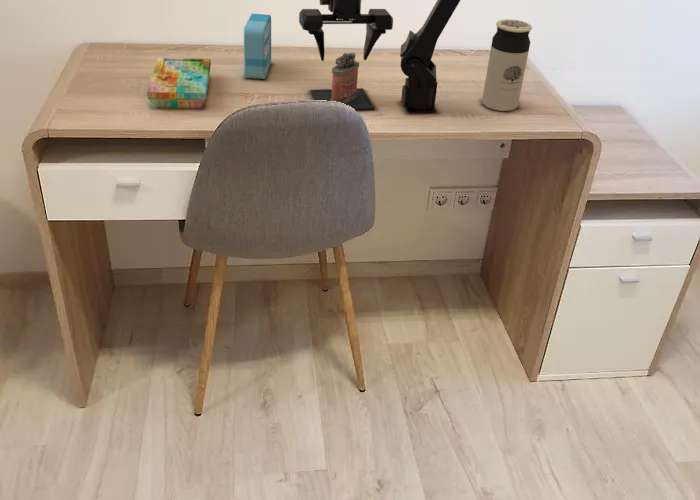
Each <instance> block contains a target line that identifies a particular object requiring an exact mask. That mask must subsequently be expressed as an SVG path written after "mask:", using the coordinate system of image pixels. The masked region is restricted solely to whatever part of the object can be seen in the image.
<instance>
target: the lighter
mask: <svg viewBox="0 0 700 500" xmlns="http://www.w3.org/2000/svg"><path fill="white" fill-rule="evenodd" d="M355 59H356V53H355V52H349V53H348V52H344V53H343V54H342V55H341V56H339V57H337V58H336V59H335V66H334V67H332V68H331V74H332V77H331V78H332V81H331V89H332V97H331V100H330V101H336V102H341V103H344V104H345V103H347V102H349V101H351V100H353V99H354V98H356V97H357V88H358V75H359V67H360V62H359V61H357V60H355Z"/></svg>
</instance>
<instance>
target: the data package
mask: <svg viewBox="0 0 700 500" xmlns="http://www.w3.org/2000/svg"><path fill="white" fill-rule="evenodd" d="M243 58H244V62H243V63H244V67H243V68H244V77H245V78H246V79H256V80H257V79H258V80H265V79H266V77H267V75H268V72H269V70H270V67H271V65H272V16H271V14H262V13H261V14H260V13H251V14H250V15H249V17H248V19H247V21H246V23H245V25H244V28H243Z"/></svg>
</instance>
